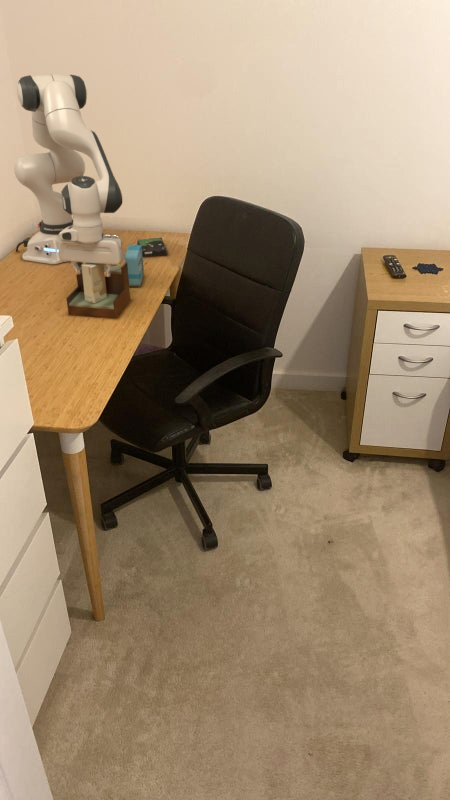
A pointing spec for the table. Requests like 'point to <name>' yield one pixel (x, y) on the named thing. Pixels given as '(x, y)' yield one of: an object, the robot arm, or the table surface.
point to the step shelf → (107, 307)
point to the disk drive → (152, 247)
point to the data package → (134, 264)
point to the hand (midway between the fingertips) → (93, 275)
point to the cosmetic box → (94, 282)
